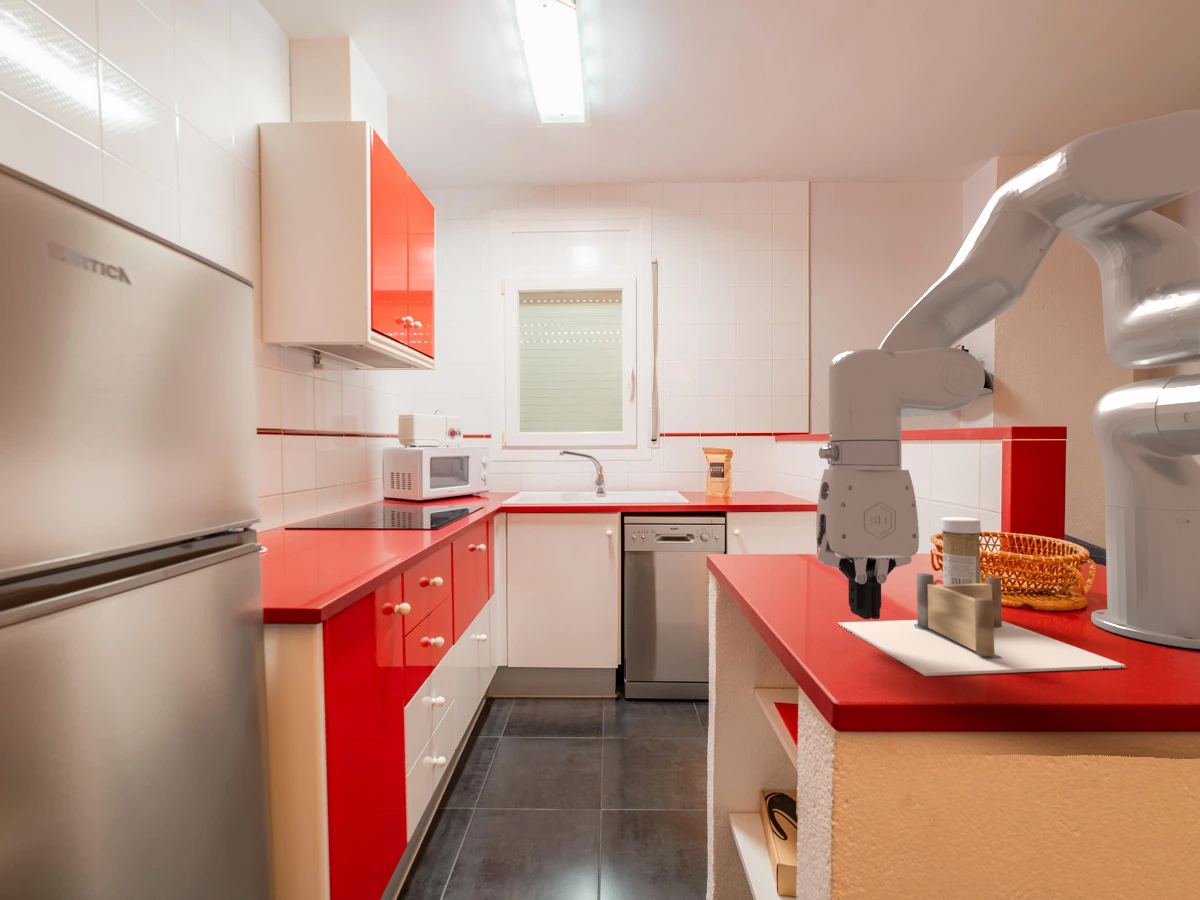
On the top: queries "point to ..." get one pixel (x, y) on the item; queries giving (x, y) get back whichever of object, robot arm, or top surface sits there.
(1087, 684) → the top surface
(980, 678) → the top surface
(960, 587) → the fixed fence
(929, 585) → the fence panel
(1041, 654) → the board
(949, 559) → the sprinkles bottle
